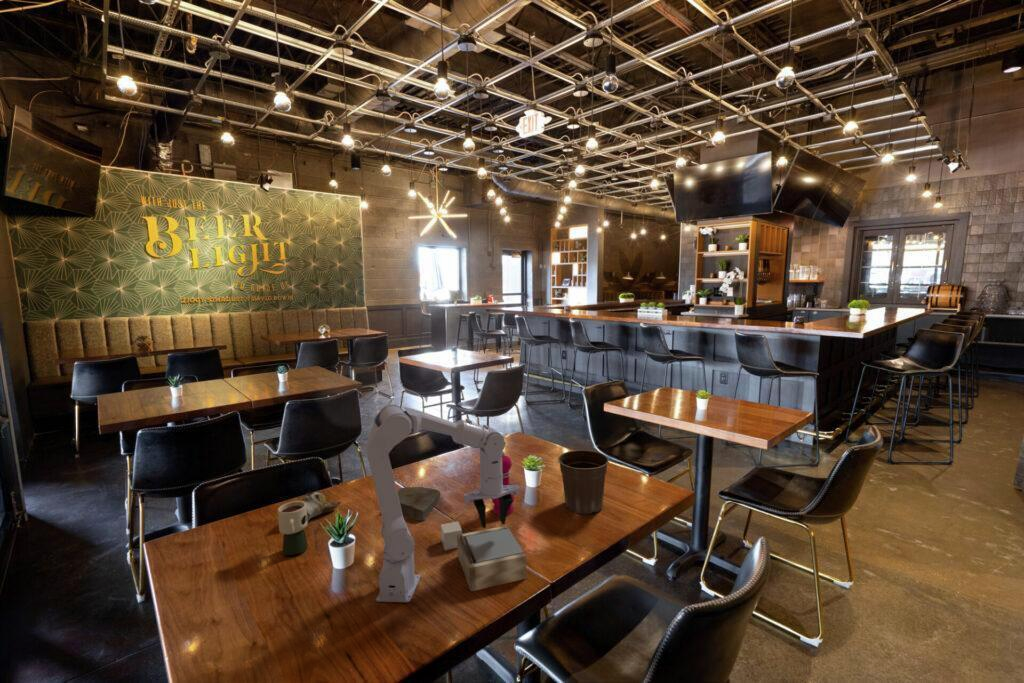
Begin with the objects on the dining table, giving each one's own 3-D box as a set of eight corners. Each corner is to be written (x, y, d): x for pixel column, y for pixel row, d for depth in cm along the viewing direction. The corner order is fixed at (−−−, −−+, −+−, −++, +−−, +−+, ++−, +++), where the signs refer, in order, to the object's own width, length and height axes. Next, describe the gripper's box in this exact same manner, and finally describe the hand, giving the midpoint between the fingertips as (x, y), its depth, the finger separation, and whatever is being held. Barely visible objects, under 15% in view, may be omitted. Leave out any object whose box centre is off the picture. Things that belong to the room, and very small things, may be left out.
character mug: (308, 558, 121) (305, 513, 119) (279, 565, 118) (275, 518, 117) (310, 538, 131) (307, 496, 129) (283, 544, 128) (279, 500, 127)
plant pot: (555, 515, 141) (554, 466, 139) (561, 492, 157) (561, 448, 155) (607, 520, 137) (608, 470, 135) (609, 497, 153) (609, 451, 151)
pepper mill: (489, 508, 147) (487, 449, 144) (509, 503, 149) (508, 446, 147) (496, 518, 140) (494, 456, 138) (517, 513, 143) (516, 453, 140)
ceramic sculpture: (279, 497, 138) (317, 480, 152) (280, 524, 139) (317, 505, 153) (306, 502, 134) (342, 485, 148) (306, 531, 135) (342, 510, 149)
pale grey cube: (444, 550, 123) (443, 533, 123) (441, 541, 128) (440, 524, 128) (462, 546, 125) (461, 530, 124) (458, 537, 130) (458, 521, 129)
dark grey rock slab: (423, 522, 139) (423, 510, 138) (381, 518, 142) (380, 505, 142) (444, 498, 155) (443, 486, 154) (405, 494, 158) (404, 483, 158)
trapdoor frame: (470, 591, 106) (470, 564, 105) (457, 556, 121) (457, 532, 120) (526, 578, 111) (525, 552, 110) (507, 545, 125) (506, 522, 124)
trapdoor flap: (476, 566, 108) (476, 562, 108) (465, 540, 119) (465, 536, 119) (523, 555, 112) (523, 552, 111) (508, 531, 123) (508, 528, 123)
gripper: (512, 464, 122) (514, 512, 123) (460, 472, 117) (462, 521, 119) (521, 474, 115) (522, 524, 117) (466, 483, 111) (468, 535, 112)
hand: (492, 524), depth 117 cm, fingers open, 5 cm apart
